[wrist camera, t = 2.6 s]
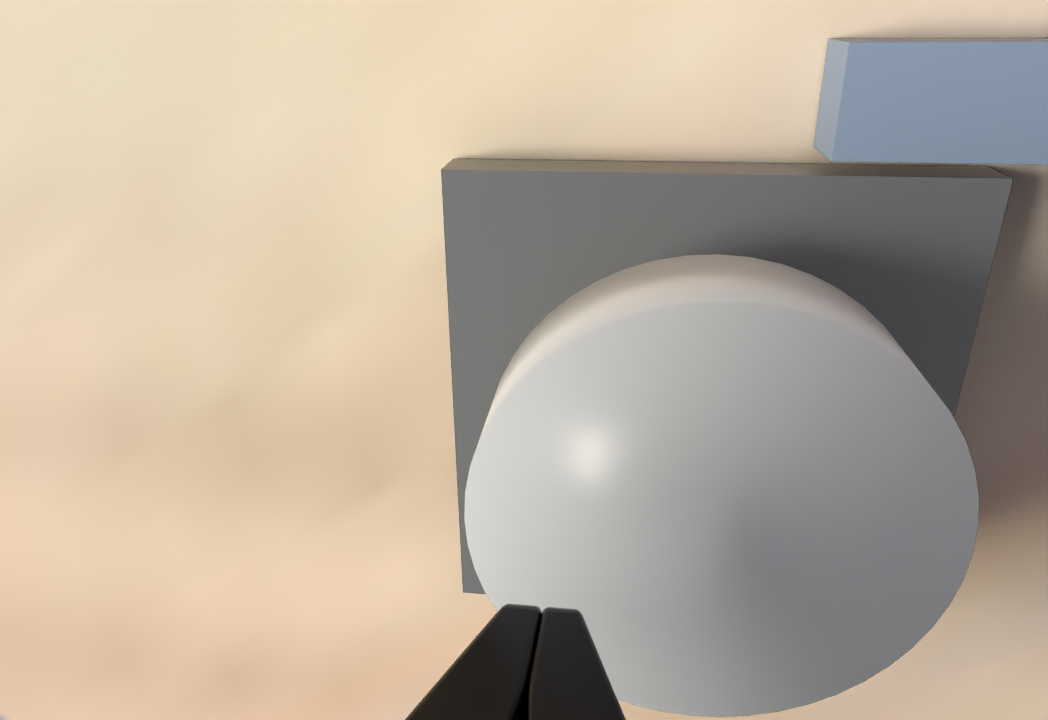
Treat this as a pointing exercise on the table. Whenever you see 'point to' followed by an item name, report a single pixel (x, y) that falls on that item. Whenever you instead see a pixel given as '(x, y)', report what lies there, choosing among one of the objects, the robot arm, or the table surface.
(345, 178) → the table surface
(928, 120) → the lane
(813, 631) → the dome
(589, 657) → the robot arm
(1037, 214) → the table surface
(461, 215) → the dome base
